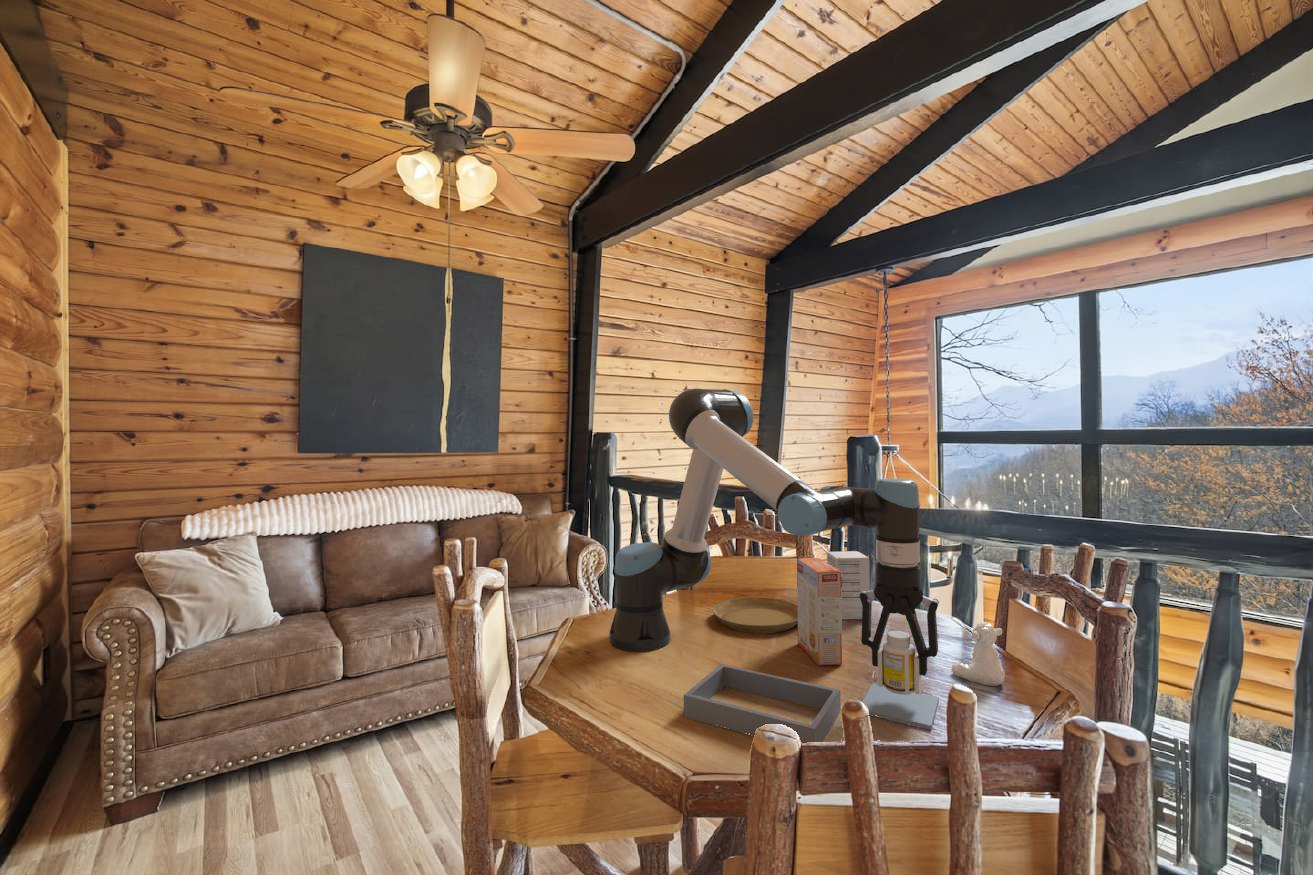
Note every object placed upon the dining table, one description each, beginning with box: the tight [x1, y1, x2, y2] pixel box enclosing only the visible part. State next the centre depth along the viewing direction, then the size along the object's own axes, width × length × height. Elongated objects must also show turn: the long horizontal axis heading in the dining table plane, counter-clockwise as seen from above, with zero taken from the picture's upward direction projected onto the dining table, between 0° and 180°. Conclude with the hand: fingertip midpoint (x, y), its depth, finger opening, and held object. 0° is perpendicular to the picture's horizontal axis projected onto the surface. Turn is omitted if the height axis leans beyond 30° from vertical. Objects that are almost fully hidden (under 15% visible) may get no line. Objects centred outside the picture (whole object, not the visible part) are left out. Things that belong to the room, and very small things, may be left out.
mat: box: [862, 683, 940, 731], centre depth 107 cm, size 12×12×1 cm
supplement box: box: [826, 550, 871, 620], centre depth 160 cm, size 10×9×17 cm
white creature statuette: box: [951, 622, 1006, 687], centre depth 118 cm, size 10×9×12 cm
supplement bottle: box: [882, 630, 916, 695], centre depth 107 cm, size 6×6×10 cm
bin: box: [683, 663, 842, 743], centre depth 105 cm, size 24×16×4 cm, turn 58°
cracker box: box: [796, 557, 843, 666], centre depth 132 cm, size 14×6×21 cm, turn 4°
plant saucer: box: [712, 596, 798, 634], centre depth 156 cm, size 24×24×3 cm
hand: (899, 687), depth 107 cm, fingers closed on supplement bottle, 6 cm apart
